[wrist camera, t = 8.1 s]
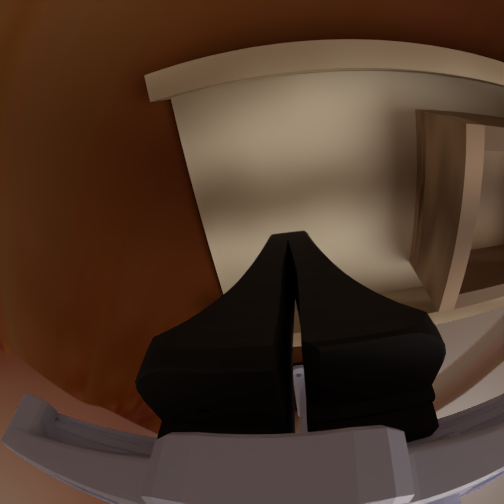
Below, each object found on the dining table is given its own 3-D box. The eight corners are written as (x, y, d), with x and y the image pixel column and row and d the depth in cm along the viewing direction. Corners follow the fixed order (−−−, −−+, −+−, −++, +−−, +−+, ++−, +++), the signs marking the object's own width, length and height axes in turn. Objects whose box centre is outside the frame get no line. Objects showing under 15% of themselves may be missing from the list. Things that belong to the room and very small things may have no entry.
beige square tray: (508, 246, 14) (542, 284, 11) (409, 262, 16) (438, 312, 12) (525, 122, 10) (574, 142, 6) (414, 109, 11) (466, 123, 7)
